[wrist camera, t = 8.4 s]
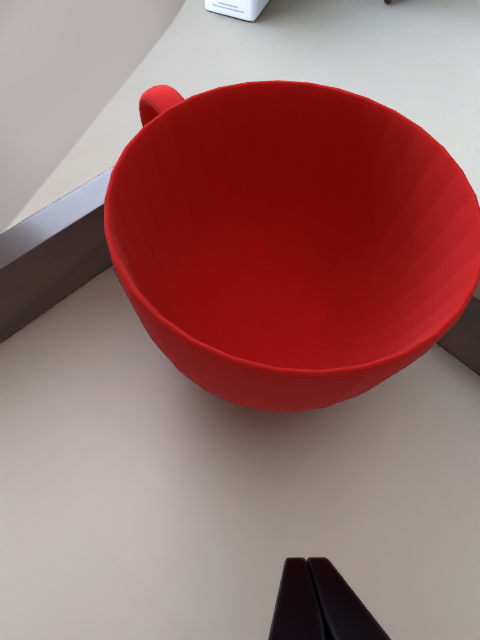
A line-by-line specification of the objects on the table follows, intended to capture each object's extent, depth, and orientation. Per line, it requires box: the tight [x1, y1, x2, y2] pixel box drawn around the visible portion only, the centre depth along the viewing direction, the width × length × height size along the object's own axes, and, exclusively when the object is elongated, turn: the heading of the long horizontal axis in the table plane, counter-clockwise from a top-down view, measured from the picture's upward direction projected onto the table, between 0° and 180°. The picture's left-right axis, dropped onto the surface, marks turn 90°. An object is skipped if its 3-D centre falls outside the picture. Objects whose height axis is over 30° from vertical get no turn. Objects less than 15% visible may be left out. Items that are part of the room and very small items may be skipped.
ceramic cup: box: [104, 80, 480, 412], centre depth 19 cm, size 13×17×10 cm
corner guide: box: [0, 166, 480, 375], centre depth 19 cm, size 26×22×4 cm
